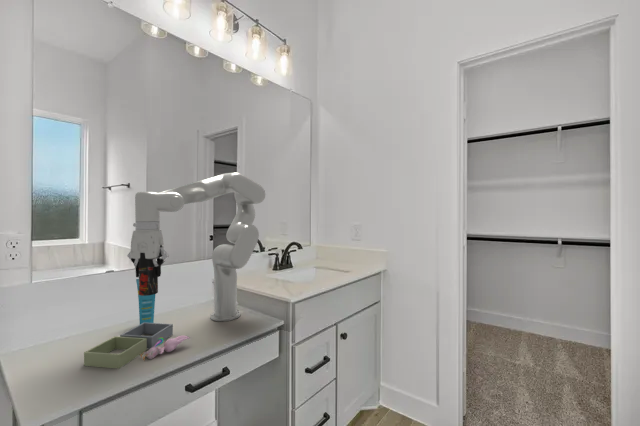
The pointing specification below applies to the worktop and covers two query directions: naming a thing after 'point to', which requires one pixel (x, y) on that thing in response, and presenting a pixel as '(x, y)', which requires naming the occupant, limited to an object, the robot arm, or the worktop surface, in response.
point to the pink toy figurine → (168, 346)
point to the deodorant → (147, 277)
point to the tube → (146, 307)
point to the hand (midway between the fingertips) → (148, 276)
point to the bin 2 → (150, 332)
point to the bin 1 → (103, 358)
